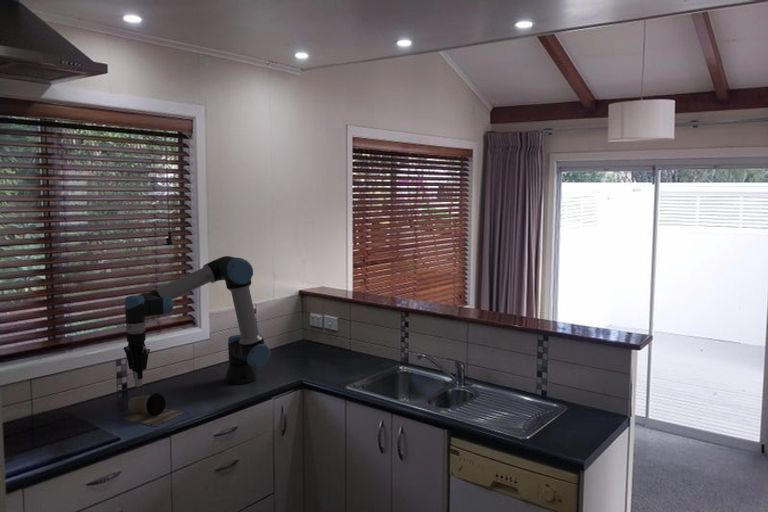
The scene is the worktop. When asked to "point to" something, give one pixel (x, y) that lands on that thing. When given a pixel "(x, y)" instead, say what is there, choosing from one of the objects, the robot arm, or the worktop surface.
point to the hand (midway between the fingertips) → (138, 385)
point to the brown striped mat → (153, 417)
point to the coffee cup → (148, 404)
